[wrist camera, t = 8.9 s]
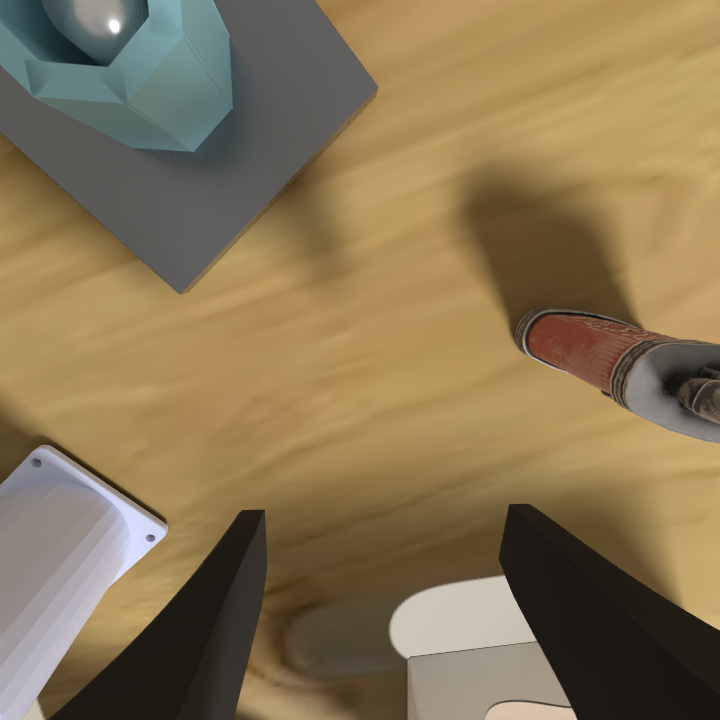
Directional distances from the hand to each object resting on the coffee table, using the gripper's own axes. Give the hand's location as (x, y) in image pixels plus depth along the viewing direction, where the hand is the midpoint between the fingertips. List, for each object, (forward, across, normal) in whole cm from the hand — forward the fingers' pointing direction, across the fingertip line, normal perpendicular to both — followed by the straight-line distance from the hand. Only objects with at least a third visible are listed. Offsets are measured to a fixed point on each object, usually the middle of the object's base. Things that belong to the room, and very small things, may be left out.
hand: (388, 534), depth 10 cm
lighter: (+10, -12, -4) cm, 16 cm away
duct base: (+9, +8, -14) cm, 19 cm away
